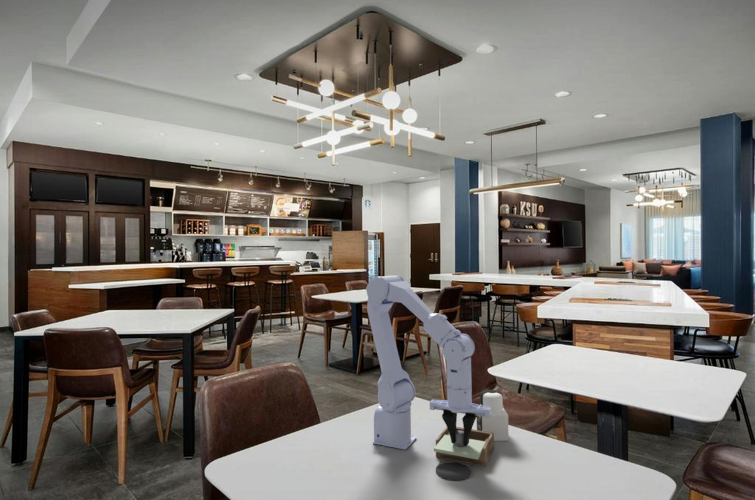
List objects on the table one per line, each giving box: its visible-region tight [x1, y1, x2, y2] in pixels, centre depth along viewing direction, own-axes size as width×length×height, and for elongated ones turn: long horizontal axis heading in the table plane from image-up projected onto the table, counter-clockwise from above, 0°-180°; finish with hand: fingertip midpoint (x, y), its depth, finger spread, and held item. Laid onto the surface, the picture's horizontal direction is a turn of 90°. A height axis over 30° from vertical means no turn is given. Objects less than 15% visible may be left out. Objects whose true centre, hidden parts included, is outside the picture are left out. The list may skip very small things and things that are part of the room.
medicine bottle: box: [476, 389, 510, 442], centre depth 120 cm, size 7×7×12 cm
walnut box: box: [435, 426, 495, 467], centre depth 110 cm, size 10×12×4 cm
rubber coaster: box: [435, 461, 472, 482], centre depth 101 cm, size 8×8×1 cm
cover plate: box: [433, 430, 486, 460], centre depth 106 cm, size 9×10×4 cm
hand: (460, 443), depth 106 cm, fingers closed on cover plate, 2 cm apart
